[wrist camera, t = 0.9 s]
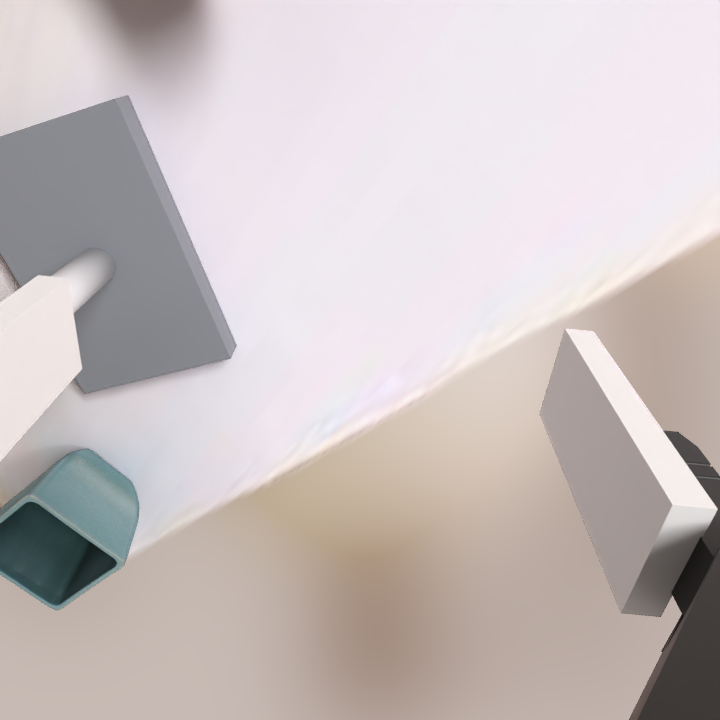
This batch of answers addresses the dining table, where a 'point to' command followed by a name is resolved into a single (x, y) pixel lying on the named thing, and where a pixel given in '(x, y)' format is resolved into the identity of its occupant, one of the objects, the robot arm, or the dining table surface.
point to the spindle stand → (109, 245)
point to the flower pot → (68, 529)
